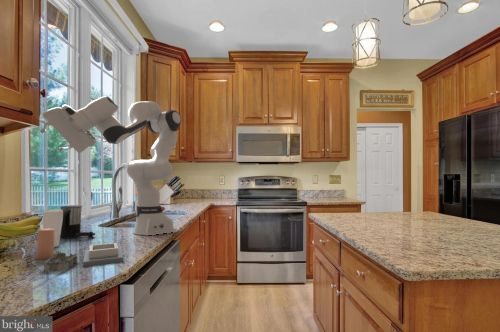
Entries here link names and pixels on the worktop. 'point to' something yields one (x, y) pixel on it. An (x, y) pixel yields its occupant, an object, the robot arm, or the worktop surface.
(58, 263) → the grey rock frame
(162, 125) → the robot arm
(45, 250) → the pillar
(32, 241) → the worktop surface
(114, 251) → the base board
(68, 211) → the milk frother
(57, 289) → the worktop surface
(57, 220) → the drinking glass
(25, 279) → the worktop surface
